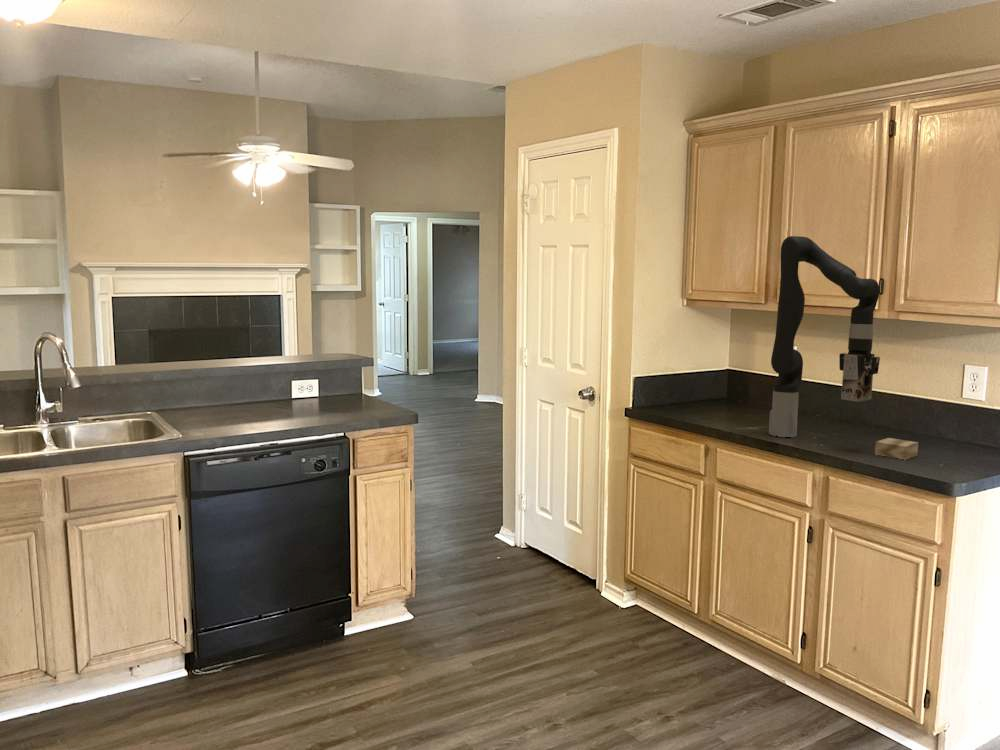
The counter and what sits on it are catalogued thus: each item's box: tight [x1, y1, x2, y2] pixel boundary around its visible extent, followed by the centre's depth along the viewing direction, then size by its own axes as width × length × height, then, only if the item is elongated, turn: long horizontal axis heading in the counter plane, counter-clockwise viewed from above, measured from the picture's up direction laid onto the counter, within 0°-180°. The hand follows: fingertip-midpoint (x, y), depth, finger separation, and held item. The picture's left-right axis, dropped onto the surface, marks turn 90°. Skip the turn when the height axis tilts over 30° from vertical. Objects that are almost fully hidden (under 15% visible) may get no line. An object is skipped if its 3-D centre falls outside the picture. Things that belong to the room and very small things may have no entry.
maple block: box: [874, 437, 919, 461], centre depth 268 cm, size 10×10×5 cm
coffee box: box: [840, 353, 875, 402], centre depth 272 cm, size 9×6×16 cm
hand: (857, 384), depth 272 cm, fingers closed on coffee box, 6 cm apart
